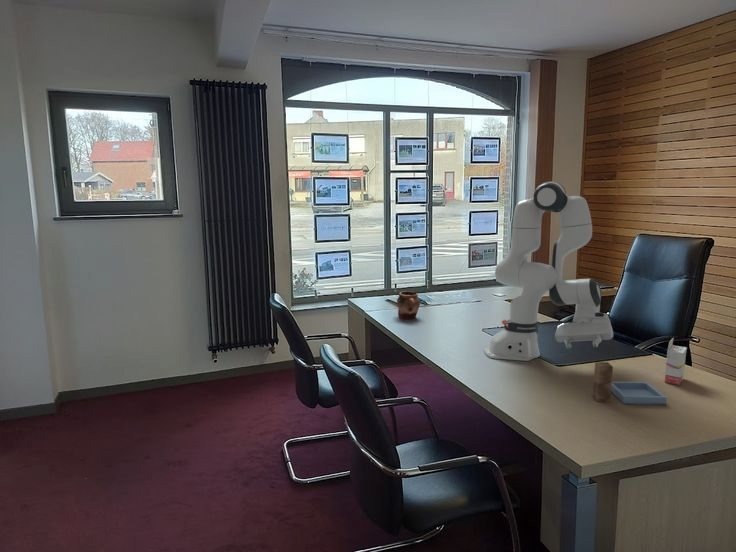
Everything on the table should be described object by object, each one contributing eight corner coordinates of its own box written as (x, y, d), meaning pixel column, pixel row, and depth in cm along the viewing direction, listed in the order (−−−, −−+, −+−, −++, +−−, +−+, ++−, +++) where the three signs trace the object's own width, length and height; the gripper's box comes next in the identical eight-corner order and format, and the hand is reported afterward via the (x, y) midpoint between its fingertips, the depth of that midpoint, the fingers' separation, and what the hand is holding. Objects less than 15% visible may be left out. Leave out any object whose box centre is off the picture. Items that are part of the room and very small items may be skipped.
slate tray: (623, 404, 158) (624, 396, 158) (607, 388, 171) (607, 381, 171) (666, 404, 158) (666, 397, 157) (646, 389, 170) (647, 382, 170)
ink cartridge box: (680, 385, 173) (684, 344, 170) (664, 382, 176) (667, 342, 174) (684, 378, 179) (688, 339, 177) (668, 375, 182) (672, 336, 180)
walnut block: (597, 401, 160) (599, 366, 158) (592, 396, 164) (595, 362, 162) (610, 402, 160) (612, 366, 158) (605, 397, 164) (607, 362, 162)
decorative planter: (426, 321, 263) (426, 295, 260) (404, 323, 259) (404, 297, 257) (411, 313, 281) (411, 288, 279) (391, 314, 278) (391, 290, 275)
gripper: (555, 318, 197) (550, 341, 188) (611, 313, 185) (608, 338, 176) (560, 329, 200) (555, 353, 190) (615, 325, 188) (613, 351, 178)
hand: (581, 346), depth 183 cm, fingers open, 8 cm apart
